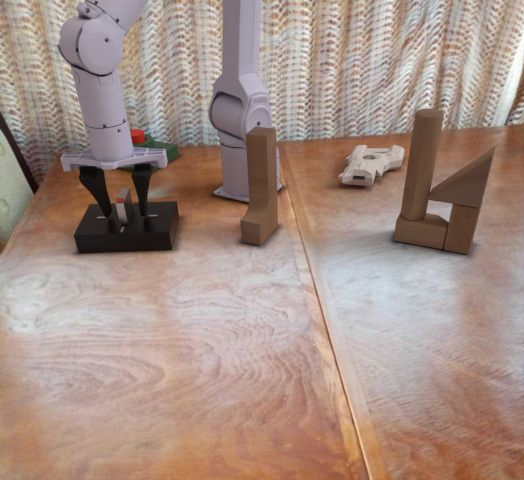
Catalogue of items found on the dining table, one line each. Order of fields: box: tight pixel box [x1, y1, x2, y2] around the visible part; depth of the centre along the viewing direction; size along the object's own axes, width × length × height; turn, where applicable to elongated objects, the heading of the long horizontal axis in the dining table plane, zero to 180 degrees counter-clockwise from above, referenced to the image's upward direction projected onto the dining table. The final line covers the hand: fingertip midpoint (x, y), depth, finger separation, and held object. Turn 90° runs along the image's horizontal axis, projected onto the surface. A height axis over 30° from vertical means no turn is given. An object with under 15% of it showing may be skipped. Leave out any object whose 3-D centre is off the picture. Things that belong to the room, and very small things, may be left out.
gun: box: [338, 144, 406, 187], centre depth 97 cm, size 18×3×10 cm
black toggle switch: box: [73, 200, 180, 254], centre depth 83 cm, size 14×10×3 cm
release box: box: [116, 133, 180, 173], centre depth 105 cm, size 12×10×4 cm
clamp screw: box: [114, 187, 134, 225], centre depth 80 cm, size 5×1×4 cm, turn 0°
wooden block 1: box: [239, 126, 279, 246], centre depth 78 cm, size 7×3×15 cm, turn 155°
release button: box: [130, 128, 145, 144], centre depth 103 cm, size 4×4×2 cm
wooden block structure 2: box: [393, 107, 497, 255], centre depth 73 cm, size 4×11×18 cm, turn 66°
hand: (126, 213), depth 81 cm, fingers open, 5 cm apart
